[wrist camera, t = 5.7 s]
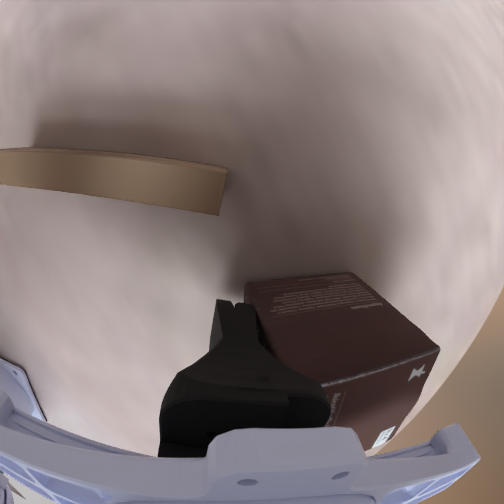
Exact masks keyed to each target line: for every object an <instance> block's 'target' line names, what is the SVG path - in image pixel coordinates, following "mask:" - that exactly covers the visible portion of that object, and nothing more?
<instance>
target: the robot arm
mask: <svg viewBox="0 0 504 504" xmlns="http://www.w3.org/2000/svg"><path fill="white" fill-rule="evenodd" d="M330 415H331V406H330V403H329V401H328V398H327V396H326V393H325V391H324V389H323V387H322V385H321V383H319V382H317V381H315V380H312V379H310V378H308V377H306V376H304V375H302V374H300V373H298V372H296V371H295V370H293V369H291V368H290V367H288V366H286V365H285V364H283V363H282V362H281V361H279V360H278V359H277V358H275V357H274V356H273V355H271V354H270V353H269V352H268V351H267V350H266V349H265V348H264V347H263V346H262V345H261V344H260V343H259V340H258V336H257V325H256V313H255V309H254V308H253V307H252V305H251V304H247V303H240V302H238V303H236V304H235V308H234V306H233V304H232V303H231V301H226V300H220V299H217V300H216V306H215V312H214V318H213V324H212V330H211V336H210V346H209V352H208V353H207V354H206V355H204V356H203V357H202V358H200V359H199V360H198V361H197V362H195V363H194V364H192V365H191V366H189V367H187V368H185V369H183V370H182V371H180V372H178V373H177V375H176V376H175V378H174V379H173V381H172V383H171V384H170V386H169V388H168V390H167V392H166V394H165V396H164V399H163V401H162V405H161V410H160V416H159V426H160V445H159V451H158V457H153V456H149V455H144V454H139V453H135V452H131V451H127V450H123V449H120V448H116V447H112V446H109V445H106V444H102V443H99V442H96V441H93V440H90V439H87V438H84V437H81V436H79V435H76V434H73V433H71V432H68V431H65V430H63V429H60V428H58V427H56V426H53V425H51V424H49V423H47V422H46V420H45V418H44V416H43V414H42V412H41V410H40V408H39V406H38V403H37V401H36V399H35V397H34V394H33V392H32V389H31V387H30V385H29V382H28V379H27V377H26V374H25V372H24V371H23V370H22V369H21V368H19V367H17V366H15V365H13V364H11V363H9V362H7V361H5V360H3V359H1V358H0V504H14V501H13V497H12V494H11V490H10V488H9V486H8V485H7V483H8V478H6V477H5V476H4V475H3V473H6V474H7V475H9V476H11V477H12V478H14V479H15V480H17V481H19V482H20V483H22V484H23V485H25V486H26V487H28V488H30V489H32V490H33V491H35V492H37V493H39V494H40V495H42V496H44V497H46V498H48V499H49V500H51V501H53V502H55V503H57V504H416V503H419V502H420V501H423V500H425V499H427V498H429V497H431V496H433V495H435V494H437V493H439V492H441V491H443V490H444V489H446V488H447V487H449V486H450V485H451V484H452V483H453V482H455V481H456V480H457V479H459V478H460V477H461V476H462V475H463V474H465V473H466V472H467V471H468V470H469V469H470V468H471V467H473V466H474V465H475V464H476V463H477V462H478V461H479V460H480V456H479V454H478V453H477V451H476V450H475V448H474V447H473V445H472V443H471V442H470V440H469V439H468V437H467V436H466V434H465V433H464V431H463V430H462V428H461V427H460V425H459V424H458V423H455V424H452V425H449V426H447V427H444V428H442V429H440V430H439V431H437V432H436V433H435V434H434V435H433V437H432V438H431V439H430V441H427V442H424V443H421V444H417V445H414V446H411V447H407V448H404V449H400V450H396V451H392V452H388V453H384V454H380V455H375V456H370V457H366V455H365V452H364V450H363V447H362V445H361V442H360V440H359V438H358V435H357V434H356V432H355V431H354V430H353V429H352V428H346V427H324V426H325V425H326V423H327V422H328V420H329V418H330Z"/></svg>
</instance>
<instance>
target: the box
mask: <svg viewBox="0 0 504 504" xmlns="http://www.w3.org/2000/svg"><path fill="white" fill-rule="evenodd" d="M244 303H247V304H251V305H252V307H253V308H254V309H255V313H256V325H257V336H258V340H259V343H260V344H261V345H262V346H263V347H264V348H265V349H266V350H267V351H268V352H269V353H270V354H271V355H273V356H274V357H275V358H277V359H278V360H279V361H281V362H282V363H283V364H285V365H286V366H288V367H290V368H291V369H293V370H295V371H296V372H298V373H300V374H302V375H304V376H306V377H308V378H310V379H312V380H315V381H317V382H319V383H321V385H322V387H323V389H324V391H325V393H326V396H327V398H328V401H329V403H330V406H331V415H330V418H329V420H328V422H327V423H326V425H325V426H324V427H346V428H352V429H353V430H354V431H355V432H356V434H357V435H358V438H359V440H360V442H361V445H362V447H363V450H364V451H366V450H369V449H372V448H374V447H376V446H379V445H381V444H383V443H385V442H387V441H388V440H390V439H391V438H392V437H393V436H394V435H395V433H396V431H397V430H398V428H399V427H400V425H401V423H402V422H403V420H404V419H405V417H406V416H407V415H408V413H409V412H410V411H411V410H412V408H413V407H414V406H415V404H416V402H417V401H418V399H419V397H420V395H421V392H422V388H423V386H424V384H425V382H426V380H427V378H428V376H429V374H430V372H431V370H432V367H433V365H434V363H435V361H436V359H437V356H438V354H439V352H440V347H439V346H438V345H437V344H436V343H434V342H433V341H432V340H431V339H430V338H429V337H428V336H427V335H426V334H425V333H424V332H423V331H422V330H421V329H419V328H418V327H417V326H416V325H414V324H413V323H412V322H411V321H409V320H408V319H407V318H406V317H405V316H404V315H403V314H401V313H400V312H399V311H398V310H397V309H396V308H394V307H393V306H392V305H391V304H390V303H389V302H387V301H386V300H385V299H384V298H382V297H381V296H380V295H379V294H378V293H377V292H376V291H375V290H373V289H372V288H371V287H370V286H368V285H367V284H366V283H365V282H363V281H362V280H361V279H360V278H359V277H357V276H356V275H355V274H354V273H352V272H348V273H340V274H331V275H321V276H311V277H302V278H290V279H279V280H266V281H256V282H247V283H246V284H245V286H244Z"/></svg>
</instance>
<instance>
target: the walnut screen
mask: <svg viewBox="0 0 504 504" xmlns="http://www.w3.org/2000/svg"><path fill="white" fill-rule="evenodd" d="M226 177H227V168H224V167H218V166H213V165H207V164H201V163H195V162H189V161H182V160H175V159H168V158H161V157H154V156H146V155H137V154H128V153H119V152H108V151H97V150H83V149H67V148H42V147H27V148H10V149H0V184H1V185H11V186H20V187H29V188H37V189H46V190H54V191H62V192H69V193H77V194H84V195H92V196H99V197H106V198H113V199H119V200H126V201H133V202H139V203H146V204H152V205H158V206H164V207H170V208H176V209H182V210H188V211H194V212H200V213H206V214H211V215H217V216H219V212H220V207H221V202H222V197H223V192H224V187H225V182H226Z"/></svg>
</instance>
